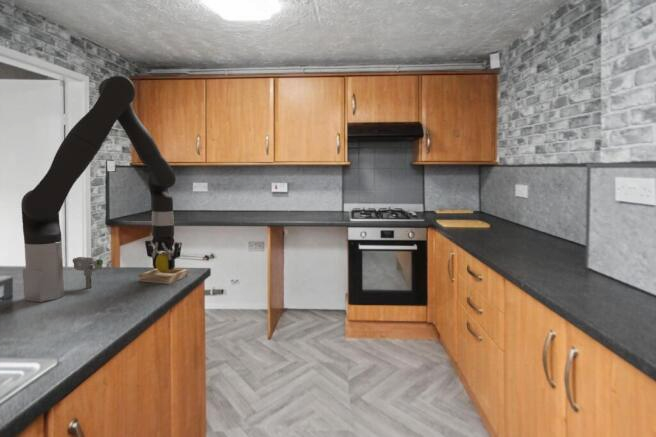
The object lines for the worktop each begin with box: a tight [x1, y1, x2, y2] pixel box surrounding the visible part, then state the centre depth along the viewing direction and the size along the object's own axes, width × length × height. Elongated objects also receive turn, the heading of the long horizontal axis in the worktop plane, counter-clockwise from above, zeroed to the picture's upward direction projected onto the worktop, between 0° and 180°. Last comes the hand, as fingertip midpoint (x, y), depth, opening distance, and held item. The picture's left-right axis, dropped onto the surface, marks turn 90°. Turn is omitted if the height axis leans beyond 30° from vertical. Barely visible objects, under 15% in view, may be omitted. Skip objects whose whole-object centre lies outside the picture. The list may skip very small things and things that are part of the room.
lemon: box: [156, 251, 169, 273], centre depth 146 cm, size 6×6×8 cm
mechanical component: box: [72, 256, 103, 289], centre depth 132 cm, size 3×10×10 cm, turn 79°
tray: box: [138, 268, 189, 285], centre depth 147 cm, size 12×12×2 cm
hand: (163, 268), depth 147 cm, fingers closed on lemon, 5 cm apart
